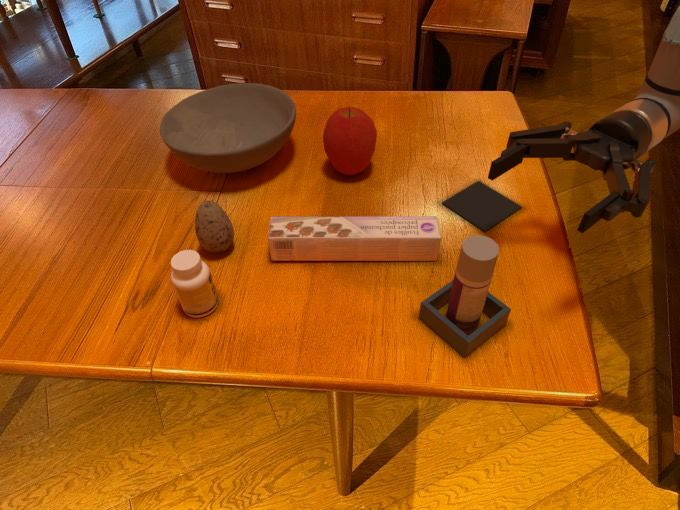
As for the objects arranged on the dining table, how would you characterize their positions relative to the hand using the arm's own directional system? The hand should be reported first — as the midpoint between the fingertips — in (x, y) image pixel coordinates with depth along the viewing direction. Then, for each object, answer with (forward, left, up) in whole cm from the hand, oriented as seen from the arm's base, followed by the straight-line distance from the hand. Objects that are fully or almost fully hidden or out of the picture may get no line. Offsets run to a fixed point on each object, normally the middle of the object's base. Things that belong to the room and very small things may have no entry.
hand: (534, 195), depth 61 cm
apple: (+39, -1, -18) cm, 43 cm away
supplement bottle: (+27, +38, -18) cm, 50 cm away
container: (0, +10, -18) cm, 21 cm away
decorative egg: (+36, +30, -18) cm, 50 cm away
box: (+21, +13, -18) cm, 30 cm away
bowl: (+58, +14, -18) cm, 62 cm away
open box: (0, +10, -18) cm, 20 cm away
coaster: (+15, -12, -18) cm, 27 cm away
